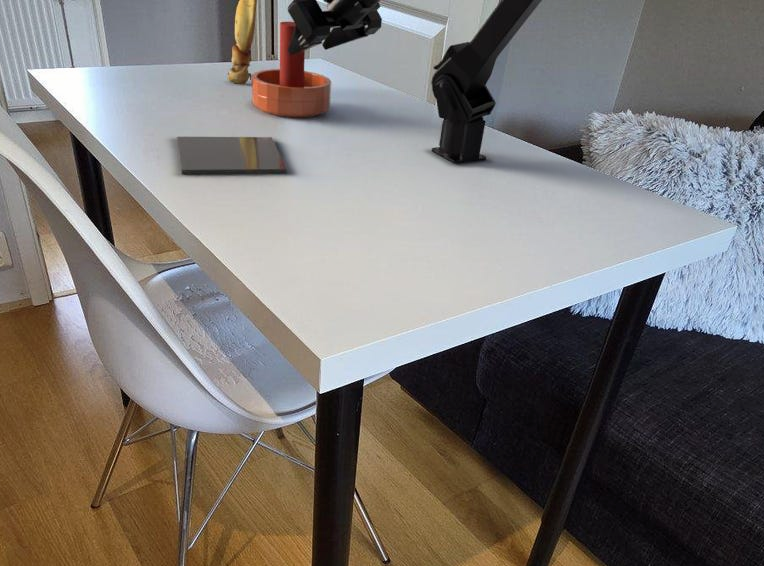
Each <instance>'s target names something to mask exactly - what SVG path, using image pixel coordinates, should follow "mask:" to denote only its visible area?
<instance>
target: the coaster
mask: <svg viewBox="0 0 764 566" xmlns="http://www.w3.org/2000/svg"><path fill="white" fill-rule="evenodd" d="M176 141H177V142H176V143H177V148H178V156H179V163H180V170H181V174H182V175H217V174H218V175H233V174H234V175H236V174H239V175H241V174H246V175H247V174H288V168H287V165H286V164H285V162H284V160H283V158H282V155H281V154H280V152H279V149H278V148H277V145H276V144H275V141H274V139H273V137H272V136H176Z"/></svg>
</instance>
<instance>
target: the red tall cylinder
mask: <svg viewBox="0 0 764 566" xmlns="http://www.w3.org/2000/svg"><path fill="white" fill-rule="evenodd" d="M294 28H295V22H294V21H281V22H280V23H279V69H280V86H287V87H304V71H305V61H306V60H305V56H306V55H305V54H306V50H305V51H302V52H300V53H297V54H295V55H290V54H289V52H288V46H289V44H290V41H291V38H292V35H293V32H294Z"/></svg>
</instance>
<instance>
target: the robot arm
mask: <svg viewBox="0 0 764 566" xmlns="http://www.w3.org/2000/svg"><path fill="white" fill-rule="evenodd" d="M542 1H543V0H500V1H499V3H498V4H497V5H496V7H495V8H494V9H493V10H492V12H491V13H490V15H489V16H488V17H487V19H486V20H485V21H484V23H483V24H482V26H481V27H480V28H479V30H478V31H477V32H476V33H475V35H474V36H473V38H472V39H471V40H470V42H469V41H465V42H460V43H456V44H451V45H450V46H448V47H447V49H446V51H445V53H444V55H443V57H442V59H441V60H440V61H439V62H438V64H436V65H434V66H433V70H435V71H434V74H433V76H432V78H431V81H430V83H431V90H432V94H433V97H434V98H435V100H436V106H437V113H438V118H439V119H443V120H442V122H441V129H440V136H439V144H438V146H436V147H432V148H431V153H433V154H436V155H437V156H439V157H441V158H443V159H444V160H447V161H449V162H450V163H452V164H454V165H458V164H460V165H461V164H467V163H474V162H482V161H487V157H488V156H486V155H484V154H482V153H481V149H482V144H483V138H484V132H485V127H486V122H487V121H486V120H484V117H485V116H489V115H491V114H492V112H493V110H494V108H495V106H496V100H495V99H494V97H493V95H492V93H491V92H490V90H489V88H488V87H487V83H488V81H489V80H490V79H491V76H492V74H493V72H494V71H493V70H494V68H495V64H496V62H497V59H498V57H499V55H500V54H501V53H502V52H503V51H504V50H505V48H506V47H507V46H508V45H509V43H510V42H511V40H512V39H513V38H514V37H515V35H517V33H518V31H519V30H520V29H521V28H522V26H523V25H525V23H526V21H527V20H528V19H529V18H530V16H531V15H532V14H533V13H534V11H535V10H536V9H537V7H538V6H539V5H540V3H541V2H542ZM323 2H324V3H326V4H327V5H326V9H327V10H323V9H322V8H321V6H320V5H319V2H318V1H317V0H292V1H291V3H290V4H289V5H288V6H287V12H288V14H289V16H290V17H291V19H292V22H295V28H294V32H293V35H292V38H291V41H290V44H289V46H288V52H289V54H290V55H295V54H297V53H300V52H302V51H305V52H306V51H307V50H309V49H312V48H314V47H317V46H318V45H319V46H320V45H322V48H323V49H324V50H325V51H326V50H330V49H333V48H336V47H338V46H342V45H345V44H348V43H351V42H354V41H357V40H360V39H364V38H367V37H369V36H370V35H375V34H376V33H378V31H379V30H380V29H381V28H382V22H383V17H382V16H381V15H380V13H379V9H380V8H381V7H382V6H381V5H380V2H381V0H323Z"/></svg>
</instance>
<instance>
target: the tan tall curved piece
mask: <svg viewBox="0 0 764 566" xmlns="http://www.w3.org/2000/svg"><path fill="white" fill-rule="evenodd" d="M257 3H258V0H239V1H238V4H237V6H236V10H235V18H234V39H235V42H236V44H233V45H232V48H231V52H232V54H231V55H232V57H230V59H231V63H232V67H231V68H229V70H230V71H229V72H227V75H228V76H227V79H228V81H229V83H234V84H238V85H245V84H246V83H247V82H248V80H249V81H252V73H250V72H249V67H250V66H251V61H252V58H251V52H252V50H251V47H252V44H253V41H254V37H255V36H254V35H255V29H256V15H257V14H256V12H257Z"/></svg>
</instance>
